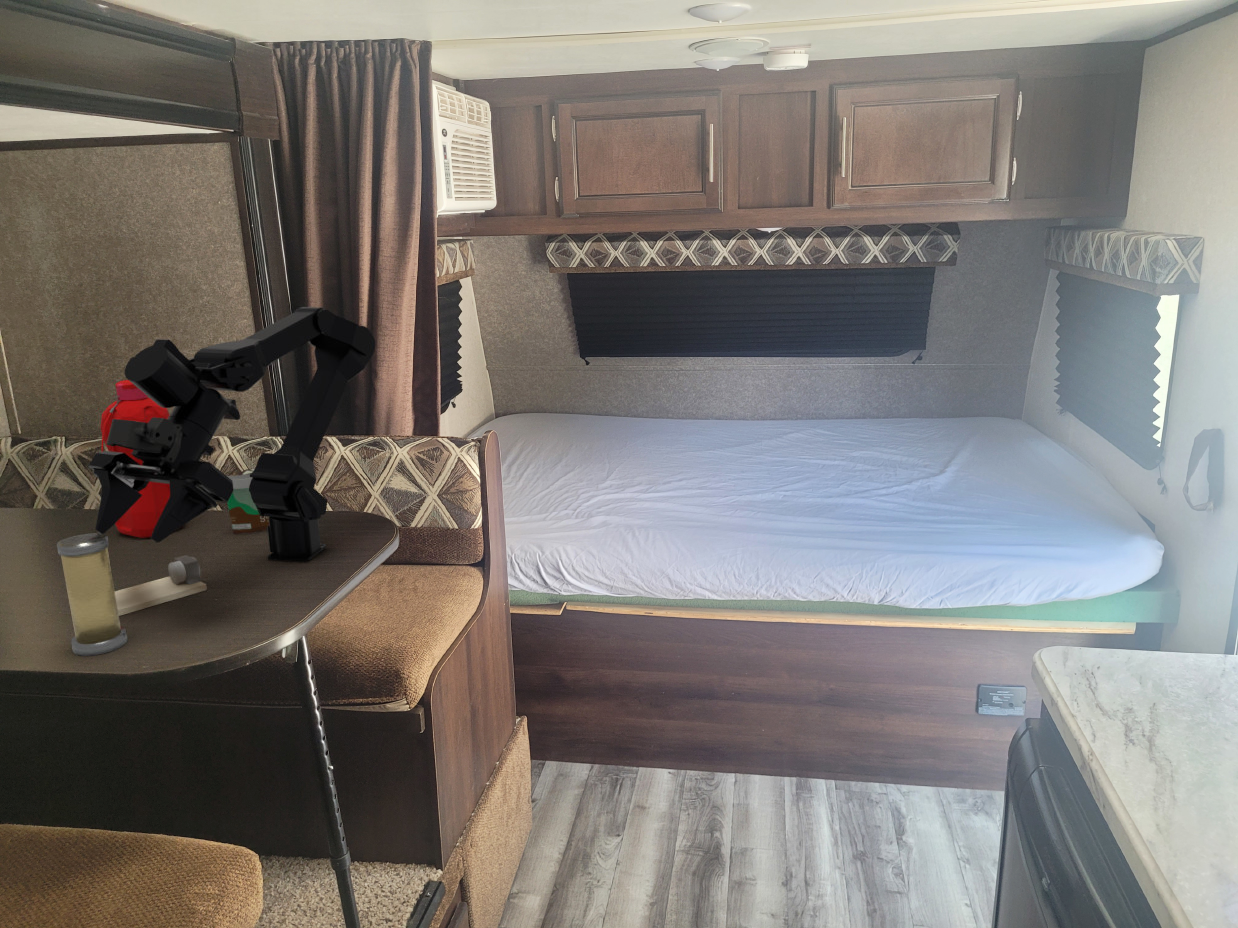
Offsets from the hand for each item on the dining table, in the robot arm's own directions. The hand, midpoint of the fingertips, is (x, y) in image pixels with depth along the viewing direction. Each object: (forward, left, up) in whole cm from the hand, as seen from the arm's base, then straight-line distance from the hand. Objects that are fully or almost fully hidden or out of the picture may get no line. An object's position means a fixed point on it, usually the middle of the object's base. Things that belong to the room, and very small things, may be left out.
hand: (126, 536), depth 105 cm
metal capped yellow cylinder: (+1, +5, -12) cm, 13 cm away
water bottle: (+23, -35, -12) cm, 43 cm away
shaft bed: (+5, -8, -12) cm, 15 cm away
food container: (+5, -40, -12) cm, 42 cm away
